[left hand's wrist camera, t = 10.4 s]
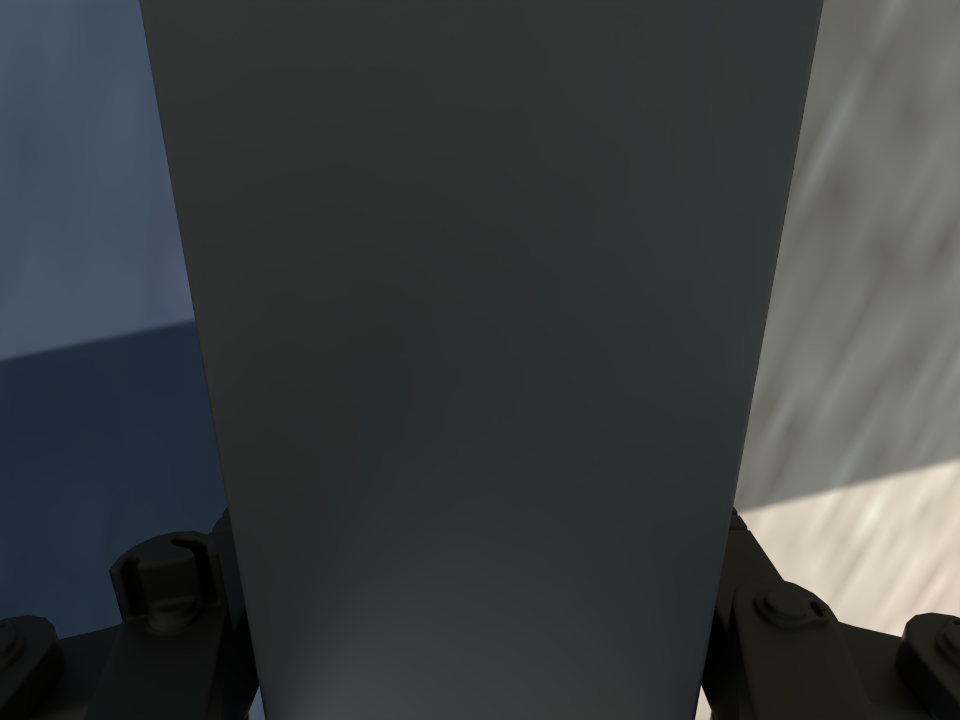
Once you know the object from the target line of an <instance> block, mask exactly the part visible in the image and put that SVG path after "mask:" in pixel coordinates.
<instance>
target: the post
mask: <svg viewBox="0 0 960 720" xmlns="http://www.w3.org/2000/svg"><path fill="white" fill-rule="evenodd" d="M139 1H140V7H141V13H142V19H143V24H144V30H145V36H146V41H147V47H148V53H149V58H150V64H151V70H152V76H153V81H154V87H155V93H156V98H157V104H158V110H159V115H160V121H161V127H162V133H163V138H164V144H165V150H166V155H167V161H168V167H169V172H170V178H171V184H172V190H173V195H174V201H175V207H176V212H177V218H178V224H179V229H180V235H181V241H182V247H183V252H184V258H185V264H186V269H187V275H188V281H189V286H190V292H191V298H192V304H193V309H194V315H195V321H196V326H197V332H198V338H199V343H200V349H201V355H202V361H203V366H204V372H205V378H206V383H207V389H208V395H209V400H210V406H211V412H212V418H213V423H214V429H215V435H216V440H217V446H218V452H219V457H220V463H221V469H222V475H223V480H224V486H225V492H226V497H227V503H228V509H229V514H230V520H231V526H232V532H233V537H234V543H235V549H236V554H237V560H238V566H239V571H240V577H241V583H242V589H243V594H244V600H245V606H246V611H247V617H248V623H249V628H250V634H251V640H252V646H253V651H254V657H255V663H256V668H257V674H258V680H259V685H260V691H261V697H262V702H263V708H264V714H265V720H695V716H696V710H697V705H698V699H699V693H700V688H701V682H702V677H703V671H704V665H705V660H706V654H707V649H708V643H709V638H710V632H711V626H712V621H713V615H714V610H715V604H716V598H717V593H718V587H719V582H720V576H721V570H722V565H723V559H724V554H725V548H726V543H727V537H728V531H729V526H730V520H731V515H732V509H733V503H734V498H735V492H736V487H737V481H738V475H739V470H740V464H741V459H742V453H743V448H744V442H745V436H746V431H747V425H748V420H749V414H750V408H751V403H752V397H753V392H754V386H755V380H756V375H757V369H758V364H759V358H760V353H761V347H762V341H763V336H764V330H765V325H766V319H767V313H768V308H769V302H770V297H771V291H772V285H773V280H774V274H775V269H776V263H777V257H778V252H779V246H780V241H781V235H782V230H783V224H784V218H785V213H786V207H787V202H788V196H789V190H790V185H791V179H792V174H793V168H794V162H795V157H796V151H797V146H798V140H799V135H800V129H801V123H802V118H803V112H804V107H805V101H806V95H807V90H808V84H809V79H810V73H811V67H812V62H813V56H814V51H815V45H816V40H817V34H818V28H819V23H820V17H821V12H822V6H823V0H139Z"/></svg>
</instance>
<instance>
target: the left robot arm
mask: <svg viewBox="0 0 960 720" xmlns="http://www.w3.org/2000/svg"><path fill="white" fill-rule="evenodd" d="M109 572H110V576H111V579H112V583H113V587H114V591H115V594H116V598H117V602H118V605H119V609H120V613H121V616H122V623H121V624H120V625H116V626H113V627H110V628H106V629H103V630H98V631H94V632H90V633H85V634H81V635H77V636H73V637H68V638H64V639H60V640H58V637H57V634H56V631H55V628H54V625H52V624H51V623H50V622H49V621H48V620H47V619H46V618H43V617H37V616H30V615H27V616H19V617H12V618H6V619H3V620H1V621H0V720H250V717H249V710H250V707H251V705H252V702H253V700H254V697H255V695H256V692H257V690H258V687H259V680H258V674H257V668H256V663H255V657H254V651H253V646H252V640H251V634H250V628H249V623H248V617H247V611H246V606H245V600H244V594H243V589H242V583H241V577H240V571H239V566H238V560H237V554H236V549H235V543H234V537H233V532H232V526H231V520H230V514H229V509H228V507H227V508H226V510H225V511H224V513H223V516H222V518H219V520H218V521H217V523H216V524H215V526H214V527H213V531H212V533H209V535H206V534H202V533H198V532H194V531H190V532H173V533H169V534H165V535H161V536H157V537H154V538H151V539H149V540H147V541H145V542H143V543H140V544H138V545H136V546H134V547H133V548H132V549H130V550H129V551H127V552H126V553H125V554H123V555H122V556H121V557H119V558H118V560H117V561H116V562H115V564H114V565H113V566H112V568H111V569H110V570H109ZM701 685H702V688H703V690H704V693H705V695H706V698H707V700H708V703H709V705H710V708H711V710H712V711H711V717H710V720H960V618H959V617H956V616H953V615H945V614H938V613H926V614H920V615H915V616H914V617H913V618H912V619H910V620H909V621H908V622H907V623H906V626H905V629H904V632H903V635H902V637H898V636H894V635H890V634H885V633H881V632H877V631H872V630H868V629H864V628H859V627H855V626H852V625H848V624H845V623H842V622H839V621H838V620H837V618H836V616H835V615H834V613H833V612H832V610H831V609H830V607H829V606H828V605H827V604H826V603H825V602H823V601H822V600H821V599H820V598H819V597H817V596H816V595H815V594H814V593H812V592H810V591H808V590H806V589H804V588H802V587H800V586H798V585H796V584H795V583H791V582H787V581H784V580H783V579H782V577H781V576H780V574H779V573H778V571H777V570H776V568H775V567H774V565H773V564H772V562H771V561H770V559H769V558H768V556H767V555H766V554H765V552H764V551H763V549H762V548H761V546H760V545H759V543H758V542H757V540H756V539H755V537H754V536H753V534H752V533H751V531H750V530H747V526H746V524H745V523H744V521H743V520H742V518H741V517H740V516H738V515H737V511H736V509H735V508H734V506H733V509H732V515H731V520H730V526H729V531H728V537H727V543H726V548H725V554H724V559H723V565H722V570H721V576H720V582H719V587H718V593H717V598H716V604H715V610H714V615H713V621H712V626H711V632H710V638H709V643H708V649H707V654H706V660H705V665H704V671H703V677H702V682H701Z"/></svg>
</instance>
